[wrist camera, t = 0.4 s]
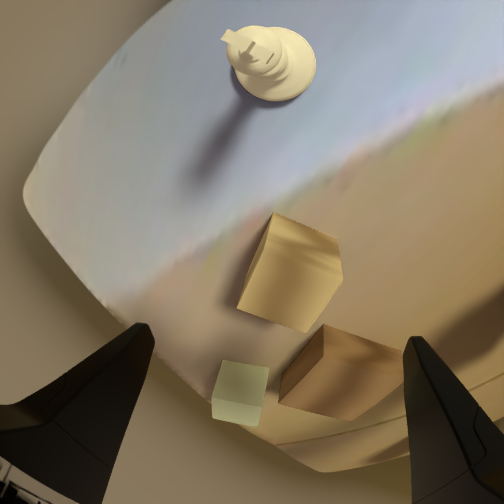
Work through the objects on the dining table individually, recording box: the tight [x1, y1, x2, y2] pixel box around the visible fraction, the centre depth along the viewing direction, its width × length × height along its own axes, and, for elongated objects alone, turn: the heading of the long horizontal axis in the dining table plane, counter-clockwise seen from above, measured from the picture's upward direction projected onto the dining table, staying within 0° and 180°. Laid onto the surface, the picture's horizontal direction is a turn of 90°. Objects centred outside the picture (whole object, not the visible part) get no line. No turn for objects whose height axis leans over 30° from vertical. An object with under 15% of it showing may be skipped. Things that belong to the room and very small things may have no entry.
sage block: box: [211, 360, 269, 427], centre depth 30 cm, size 5×5×5 cm
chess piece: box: [221, 26, 316, 101], centre depth 11 cm, size 5×5×10 cm
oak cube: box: [237, 212, 343, 333], centre depth 20 cm, size 5×5×5 cm
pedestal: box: [278, 324, 404, 421], centre depth 27 cm, size 9×9×4 cm
